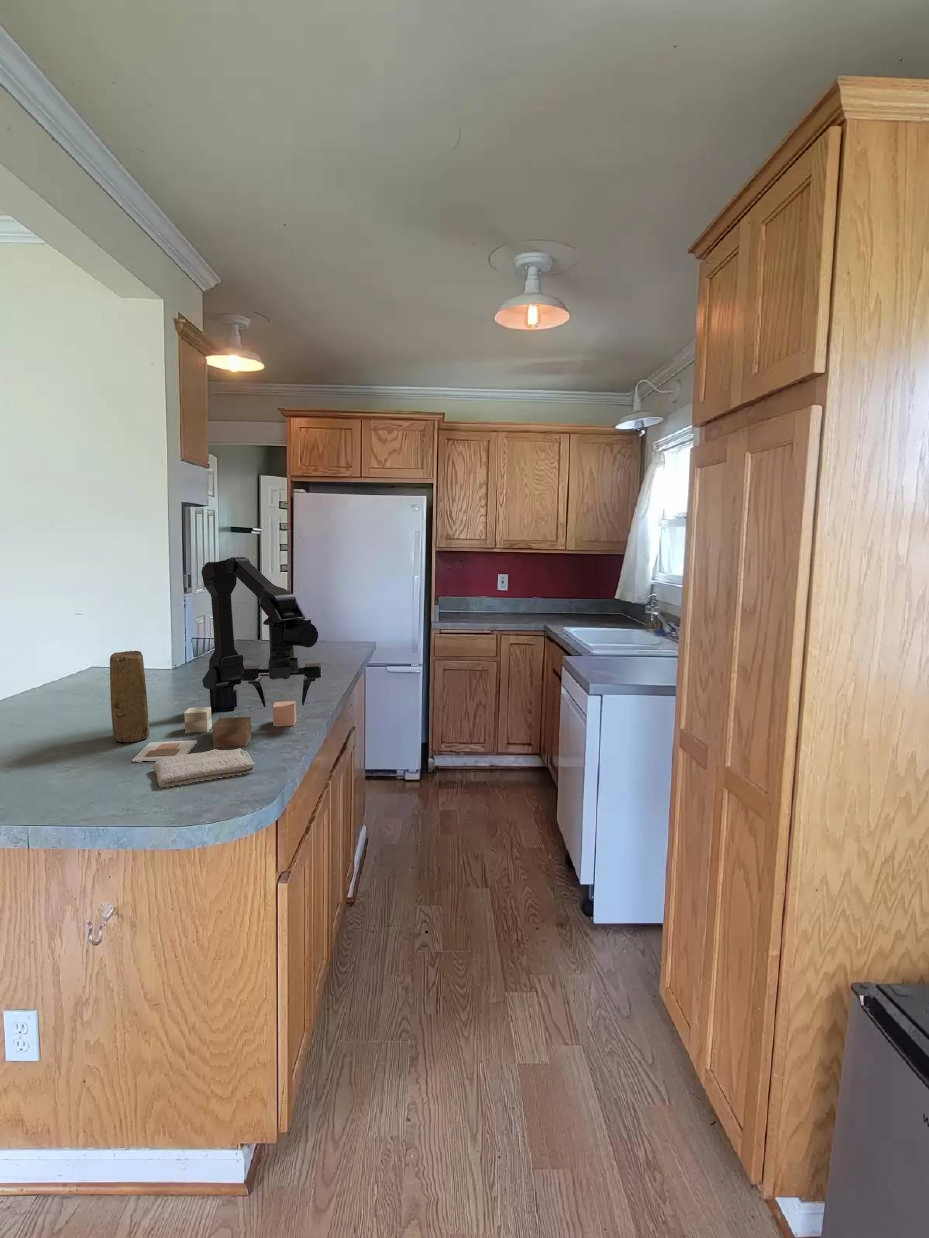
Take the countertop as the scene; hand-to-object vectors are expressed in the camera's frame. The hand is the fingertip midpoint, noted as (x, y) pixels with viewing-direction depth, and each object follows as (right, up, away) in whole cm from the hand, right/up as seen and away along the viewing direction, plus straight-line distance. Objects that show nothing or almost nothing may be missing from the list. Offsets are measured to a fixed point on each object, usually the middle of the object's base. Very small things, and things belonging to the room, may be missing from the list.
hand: (284, 705), depth 166 cm
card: (-20, -7, -22) cm, 30 cm away
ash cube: (-19, -5, -5) cm, 21 cm away
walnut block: (-8, -7, -15) cm, 18 cm away
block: (-33, -6, -11) cm, 35 cm away
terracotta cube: (0, -5, 0) cm, 5 cm away
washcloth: (-6, -9, -34) cm, 36 cm away
